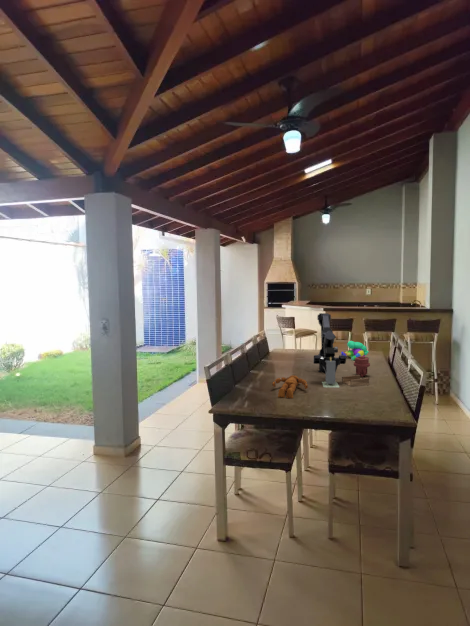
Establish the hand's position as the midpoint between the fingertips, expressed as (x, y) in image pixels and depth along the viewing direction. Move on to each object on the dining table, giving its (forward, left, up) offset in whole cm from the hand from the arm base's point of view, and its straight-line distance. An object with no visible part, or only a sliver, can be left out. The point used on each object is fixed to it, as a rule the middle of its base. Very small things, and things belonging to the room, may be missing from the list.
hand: (330, 371), depth 240 cm
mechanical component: (+6, +33, -8) cm, 34 cm away
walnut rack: (+10, +12, -8) cm, 18 cm away
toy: (-15, -21, -9) cm, 27 cm away
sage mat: (-1, +1, -8) cm, 8 cm away
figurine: (-17, +84, -9) cm, 86 cm away
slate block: (-1, +1, -7) cm, 7 cm away
